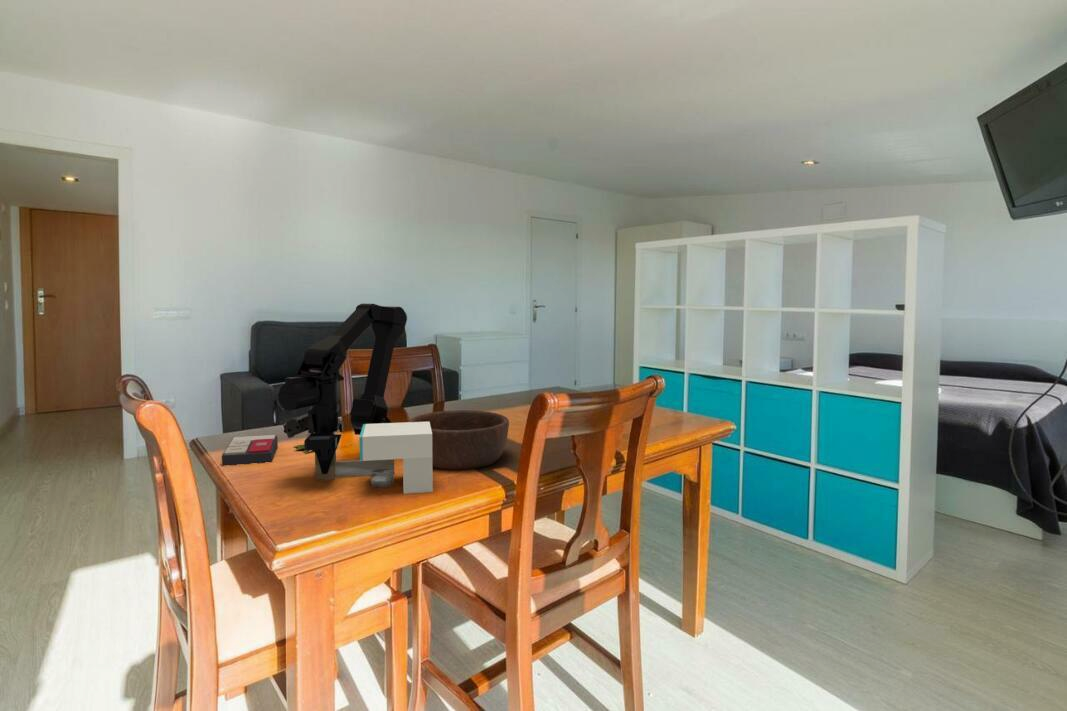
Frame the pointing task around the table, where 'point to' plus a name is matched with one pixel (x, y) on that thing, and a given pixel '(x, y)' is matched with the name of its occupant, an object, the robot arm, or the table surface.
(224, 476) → the table surface
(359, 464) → the grey mallet
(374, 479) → the steel puck
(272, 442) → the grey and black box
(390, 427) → the l-shaped block
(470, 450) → the wooden bowl
